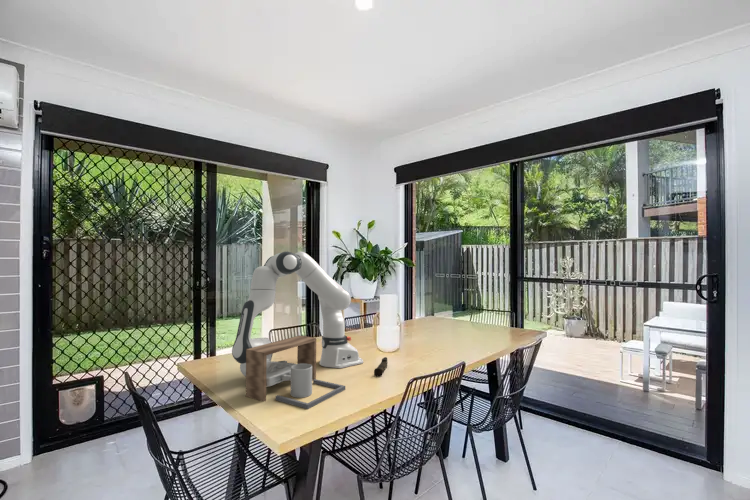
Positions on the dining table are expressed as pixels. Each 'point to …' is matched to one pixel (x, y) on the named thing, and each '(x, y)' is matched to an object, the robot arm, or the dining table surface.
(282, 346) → the wooden bridge arch
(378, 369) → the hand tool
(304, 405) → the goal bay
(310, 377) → the mug
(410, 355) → the dining table surface
